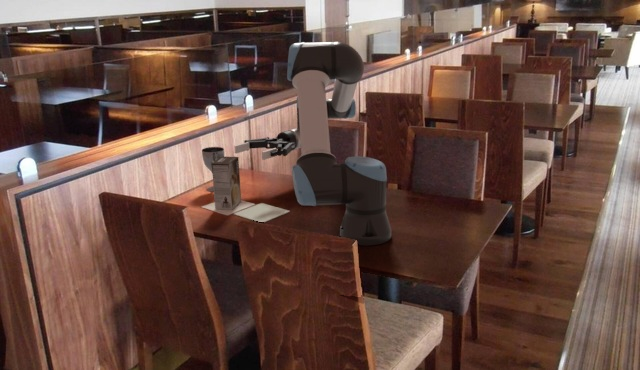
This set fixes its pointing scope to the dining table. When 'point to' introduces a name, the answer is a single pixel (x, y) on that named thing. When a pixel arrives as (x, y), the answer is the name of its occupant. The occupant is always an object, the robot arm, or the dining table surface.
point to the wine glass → (211, 158)
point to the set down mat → (261, 212)
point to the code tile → (239, 207)
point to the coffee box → (226, 183)
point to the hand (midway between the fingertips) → (248, 152)
